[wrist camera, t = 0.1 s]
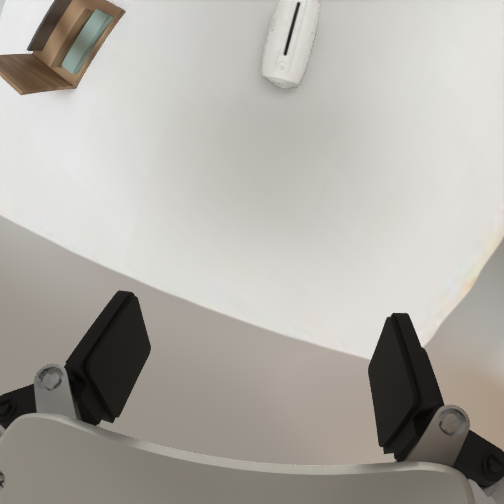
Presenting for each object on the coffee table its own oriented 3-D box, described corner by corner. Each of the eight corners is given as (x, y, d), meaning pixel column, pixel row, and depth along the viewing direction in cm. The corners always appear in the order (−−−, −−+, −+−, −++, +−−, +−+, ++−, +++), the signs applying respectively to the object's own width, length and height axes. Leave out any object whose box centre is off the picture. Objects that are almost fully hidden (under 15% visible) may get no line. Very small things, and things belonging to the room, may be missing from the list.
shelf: (77, -14, 26) (27, -28, 16) (125, 11, 29) (75, -6, 19) (34, 56, 32) (-17, 59, 22) (75, 88, 35) (20, 95, 25)
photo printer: (298, 93, 34) (302, 89, 23) (264, 84, 34) (252, 77, 23) (317, 21, 29) (328, -11, 18) (283, 13, 29) (279, -22, 18)
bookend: (66, -5, 26) (53, -9, 23) (73, -2, 27) (60, -5, 24) (36, 46, 31) (22, 46, 28) (42, 50, 31) (28, 50, 28)
